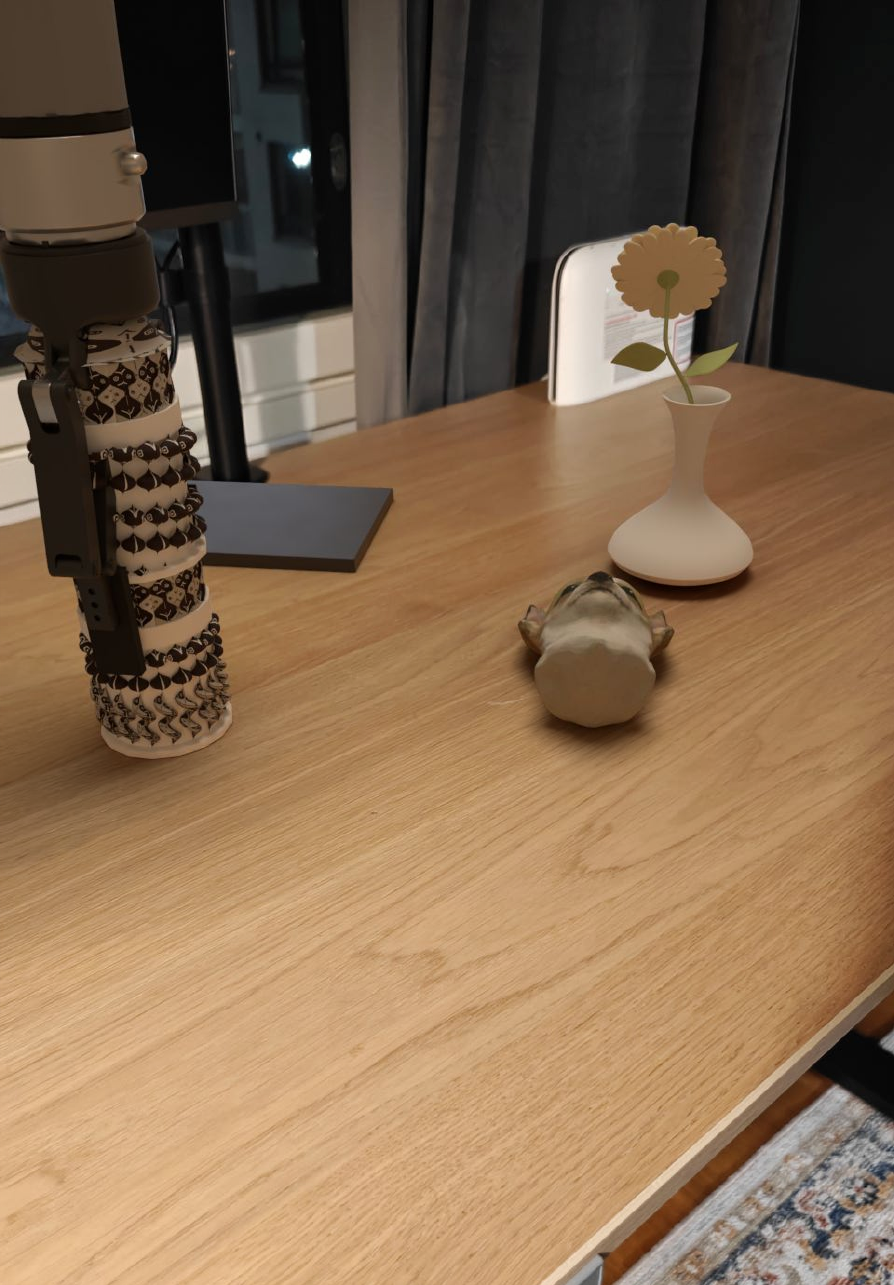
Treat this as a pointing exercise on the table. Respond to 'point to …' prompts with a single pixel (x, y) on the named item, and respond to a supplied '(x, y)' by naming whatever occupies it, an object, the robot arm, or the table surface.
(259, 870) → the table surface
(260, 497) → the dark grey base plate
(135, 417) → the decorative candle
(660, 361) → the flower in vase
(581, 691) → the ceramic sculpture
